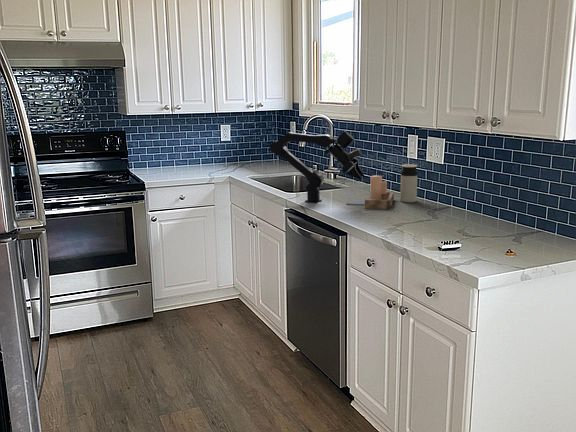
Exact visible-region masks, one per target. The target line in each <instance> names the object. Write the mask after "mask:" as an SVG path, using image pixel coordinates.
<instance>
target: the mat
mask: <svg viewBox="0 0 576 432" xmlns="http://www.w3.org/2000/svg"><path fill="white" fill-rule="evenodd" d="M346 206H365V199H349V200H348V201H347V203H346Z"/></svg>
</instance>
